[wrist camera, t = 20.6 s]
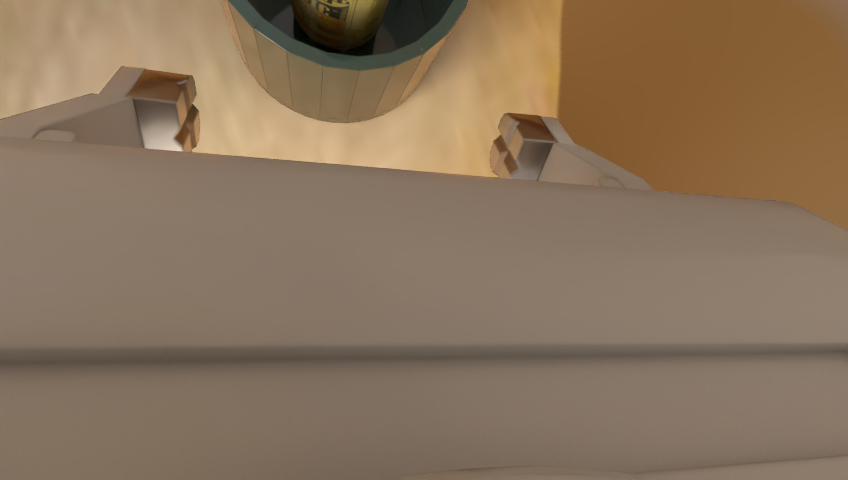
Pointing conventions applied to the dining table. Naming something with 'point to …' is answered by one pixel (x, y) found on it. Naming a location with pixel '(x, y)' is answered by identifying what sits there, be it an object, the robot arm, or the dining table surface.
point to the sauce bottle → (339, 22)
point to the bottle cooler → (341, 57)
